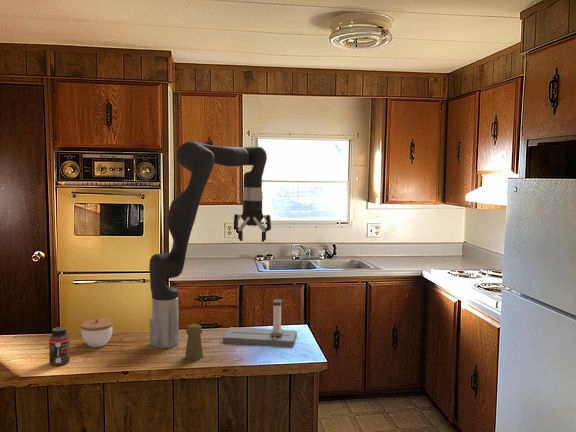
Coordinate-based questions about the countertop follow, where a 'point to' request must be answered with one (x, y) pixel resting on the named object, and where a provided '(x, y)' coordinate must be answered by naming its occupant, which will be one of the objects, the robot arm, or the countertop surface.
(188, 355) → the pepper mill
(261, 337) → the slider console
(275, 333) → the post
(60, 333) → the supplement bottle
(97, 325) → the lidded jar
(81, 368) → the countertop surface
